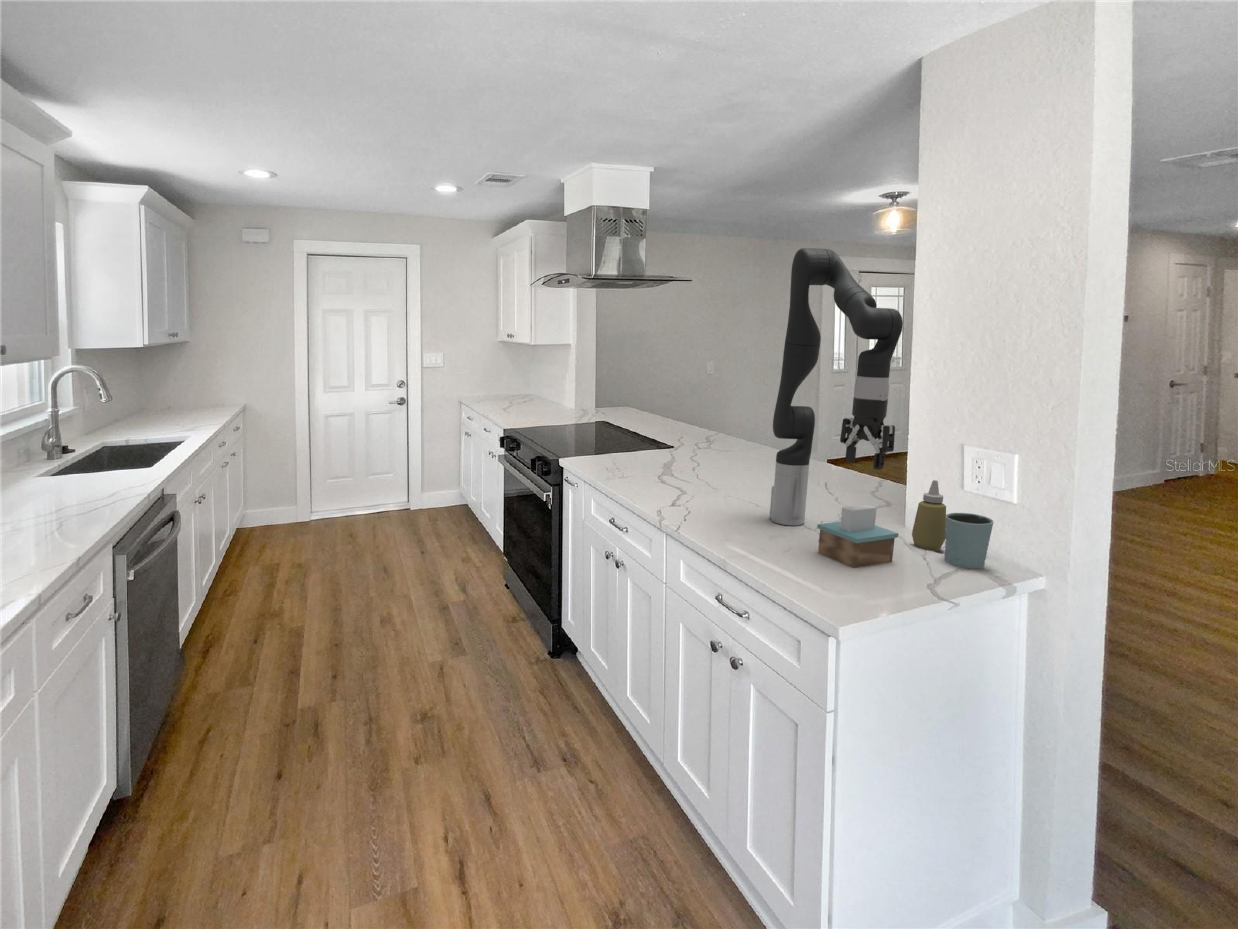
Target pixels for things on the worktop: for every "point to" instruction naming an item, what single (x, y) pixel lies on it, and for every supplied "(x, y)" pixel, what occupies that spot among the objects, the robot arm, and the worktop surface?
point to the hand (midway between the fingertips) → (863, 465)
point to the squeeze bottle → (930, 520)
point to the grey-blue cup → (967, 539)
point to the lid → (858, 525)
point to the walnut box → (855, 550)
